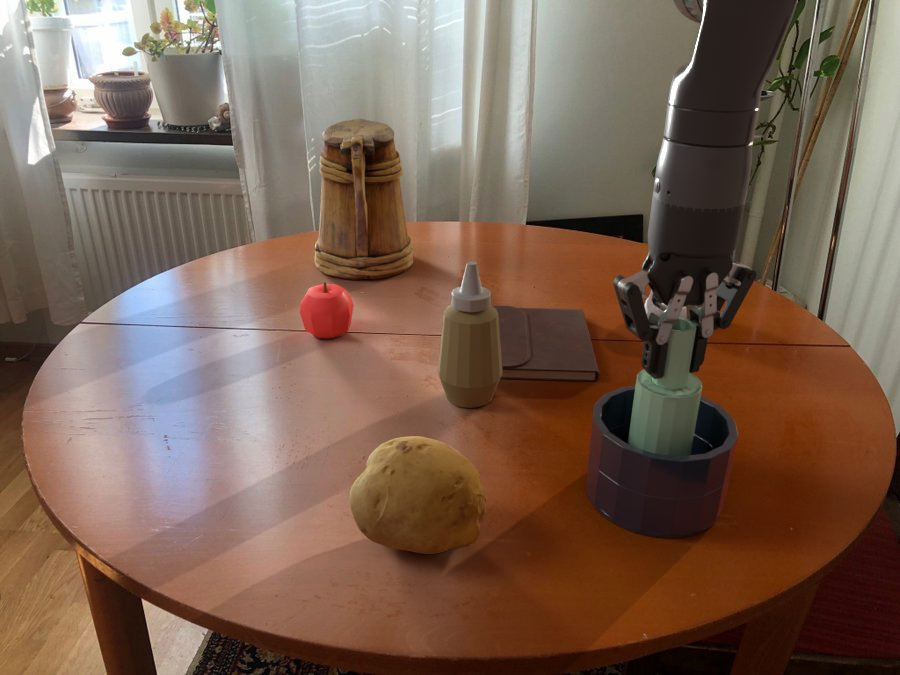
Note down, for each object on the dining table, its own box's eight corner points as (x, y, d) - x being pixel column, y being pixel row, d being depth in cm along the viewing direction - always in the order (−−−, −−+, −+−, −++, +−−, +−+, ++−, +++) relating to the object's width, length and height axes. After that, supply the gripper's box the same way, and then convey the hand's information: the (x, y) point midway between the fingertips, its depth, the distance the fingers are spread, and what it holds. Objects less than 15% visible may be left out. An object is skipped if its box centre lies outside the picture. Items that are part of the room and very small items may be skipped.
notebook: (583, 318, 115) (584, 307, 114) (599, 381, 97) (600, 368, 96) (486, 316, 116) (486, 304, 115) (484, 378, 98) (485, 365, 97)
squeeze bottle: (454, 376, 99) (455, 247, 91) (511, 389, 95) (517, 257, 87) (426, 404, 92) (424, 268, 84) (486, 420, 89) (489, 280, 81)
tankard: (407, 243, 146) (404, 113, 135) (422, 289, 126) (420, 139, 114) (314, 248, 144) (303, 116, 133) (314, 295, 123) (301, 143, 112)
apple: (306, 347, 106) (301, 296, 102) (297, 325, 113) (293, 276, 109) (360, 339, 108) (357, 289, 105) (349, 318, 115) (346, 269, 111)
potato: (484, 575, 66) (487, 484, 62) (345, 569, 67) (337, 478, 62) (486, 502, 75) (488, 418, 71) (363, 497, 76) (358, 414, 71)
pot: (714, 463, 81) (728, 392, 77) (729, 547, 69) (746, 469, 65) (588, 448, 84) (595, 378, 80) (582, 527, 72) (590, 450, 68)
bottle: (684, 453, 77) (708, 314, 70) (688, 489, 72) (715, 341, 65) (625, 446, 78) (643, 308, 71) (625, 480, 73) (645, 335, 66)
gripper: (649, 212, 57) (625, 403, 65) (799, 197, 61) (759, 379, 69) (602, 188, 64) (585, 364, 71) (740, 176, 68) (710, 344, 75)
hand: (671, 370), depth 70 cm, fingers closed on bottle, 3 cm apart
